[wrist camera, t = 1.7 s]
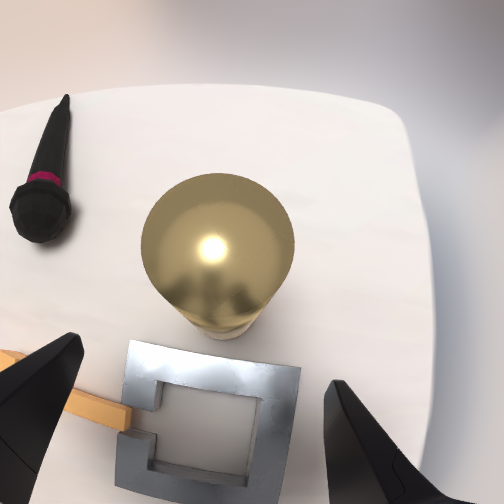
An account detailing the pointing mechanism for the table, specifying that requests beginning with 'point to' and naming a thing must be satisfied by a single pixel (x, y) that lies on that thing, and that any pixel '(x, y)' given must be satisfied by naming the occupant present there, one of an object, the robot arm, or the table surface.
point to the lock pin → (83, 401)
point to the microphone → (45, 184)
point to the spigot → (218, 251)
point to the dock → (214, 379)
